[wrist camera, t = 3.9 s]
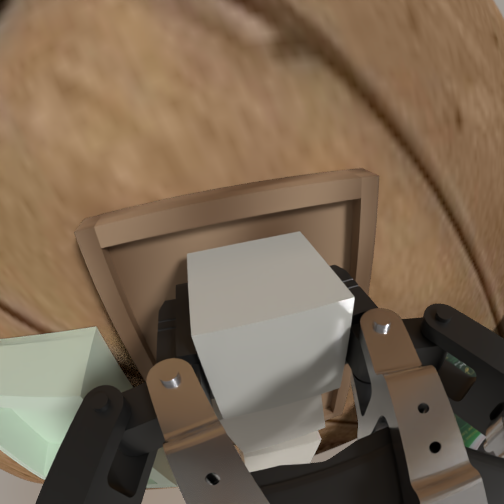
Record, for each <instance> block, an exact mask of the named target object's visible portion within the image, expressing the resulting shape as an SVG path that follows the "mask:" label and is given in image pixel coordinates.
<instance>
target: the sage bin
mask: <svg viewBox="0 0 504 504" xmlns="http://www.w3.org/2000/svg"><path fill="white" fill-rule="evenodd" d="M102 385H111V386H114V387H116V388H117V389H119V390H120V392H121V393H122V392H124V391H127V390H129V389H131V388H133V386H132V385H131V383H130V382H129V380H128V379H127V377H126V376H125V374H124V372H123V371H122V369H121V368H120V366H119V364H118V363H117V361H116V360H115V358H114V356H113V355H112V353H111V351H110V350H109V348H108V346H107V344H106V343H105V341H104V339H103V337H102V336H101V334H100V332H99V330H98V328H97V327H90V328H83V329H77V330H70V331H63V332H56V333H48V334H40V335H32V336H24V337H16V338H6V339H0V450H1V451H3V452H4V453H5V454H6V455H8V456H9V457H10V458H12V459H13V460H15V461H16V462H17V463H19V464H20V465H22V466H23V467H25V468H26V469H27V470H29V471H31V472H32V473H34V474H35V475H37V476H38V477H40V478H41V479H44V480H45V479H46V477H47V474H48V472H49V470H50V467H51V465H52V463H53V461H54V458H55V456H56V454H57V452H58V450H59V448H60V445H61V443H62V441H63V439H64V437H65V435H66V433H67V431H68V429H69V427H70V425H71V423H72V421H73V419H74V417H75V415H76V413H77V411H78V409H79V407H80V405H81V403H82V401H83V399H84V397H85V396H86V395H87V393H88V392H90V391H91V390H92V389H94V388H96V387H98V386H102ZM165 487H178V486H177V482H176V480H175V477H174V475H173V472H172V470H171V468H170V465H169V463H168V460H167V457H166V455H165V452H164V448H163V447H161V448H159V449H158V451H157V454H156V458H155V461H154V464H153V467H152V470H151V473H150V476H149V480H148V483H147V486H146V488H165Z"/></svg>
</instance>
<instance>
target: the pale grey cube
mask: <svg viewBox="0 0 504 504" xmlns="http://www.w3.org/2000/svg"><path fill="white" fill-rule="evenodd" d="M212 405H213V410H214V412H215V414H216V416H217V418H218V420H219V421H220V422H221V424H222V426H223V428H224V429H225V431H226V433H227V435H228V436H229V437H230V439H231V440H232V441H233V442H234V443H235V444H236V445H237V446H238V447H239V448H240V450H241V451H242V452H243V453H244V454H245V453H249V452H253V451H256V450H260V449H263V448H267V447H270V446H273V445H277V444H280V443H283V442H286V441H289V440H292V439H295V438H298V437H301V436H304V435H306V434H309V433H312V432H314V431H317V430H320V429H322V428H325V421H324V413H323V405H322V397H321V394H320V395H317V396H314V397H310V398H307V399H304V400H300V401H297V402H293V403H290V404H286V405H282V406H279V407H275V408H271V409H267V410H263V411H258V412H254V413H250V414H245V415H240V416H236V417H230V418H225V419H223V417H222V414H221V412H220V410H219V407H218V405H217V402H216V400H215V398H214V399H212Z"/></svg>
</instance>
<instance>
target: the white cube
mask: <svg viewBox="0 0 504 504" xmlns="http://www.w3.org/2000/svg"><path fill="white" fill-rule="evenodd" d="M320 442H321V437H320V435H319V432H318V430H317V431H314V432H312V433H309V434H306V435H304V436H301V437H298V438H295V439H292V440H289V441H286V442H283V443H280V444H277V445H273V446H270V447H267V448H263V449H260V450H256V451H253V452H249V453H245V454H244V453H243V452H242V451H241V450H240V448H239V447H238V448H239V452H240V456H241V459H242V461H243V462H244V464H245V466H246V467H247V469H248V471H249V472H253V471H258V470H263V469H267V468H271V467H275V466H279V465H293V464H307V463H310V462H311V460H312V458H313V456H314V454H315V452H316V450H317V448H318V446H319V444H320Z"/></svg>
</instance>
